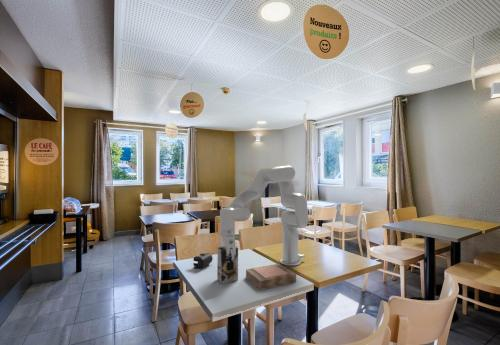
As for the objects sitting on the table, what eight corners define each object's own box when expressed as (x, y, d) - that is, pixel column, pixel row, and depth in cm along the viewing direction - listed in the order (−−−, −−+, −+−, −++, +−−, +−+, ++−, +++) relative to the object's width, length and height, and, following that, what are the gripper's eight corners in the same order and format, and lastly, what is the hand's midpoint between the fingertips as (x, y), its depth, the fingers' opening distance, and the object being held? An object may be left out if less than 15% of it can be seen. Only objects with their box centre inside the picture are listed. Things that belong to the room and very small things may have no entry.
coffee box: (221, 283, 122) (221, 250, 122) (217, 279, 128) (216, 247, 128) (238, 280, 126) (238, 248, 127) (233, 275, 132) (233, 244, 132)
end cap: (203, 270, 140) (203, 258, 140) (192, 268, 143) (193, 256, 143) (212, 264, 149) (212, 253, 149) (202, 263, 152) (202, 251, 152)
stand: (278, 271, 139) (278, 263, 139) (296, 281, 124) (296, 273, 125) (246, 277, 130) (246, 268, 130) (260, 289, 116) (260, 280, 116)
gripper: (241, 235, 121) (241, 272, 121) (228, 228, 137) (228, 261, 137) (226, 236, 118) (226, 274, 118) (215, 229, 134) (215, 263, 133)
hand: (227, 267), depth 127 cm, fingers closed on coffee box, 6 cm apart
